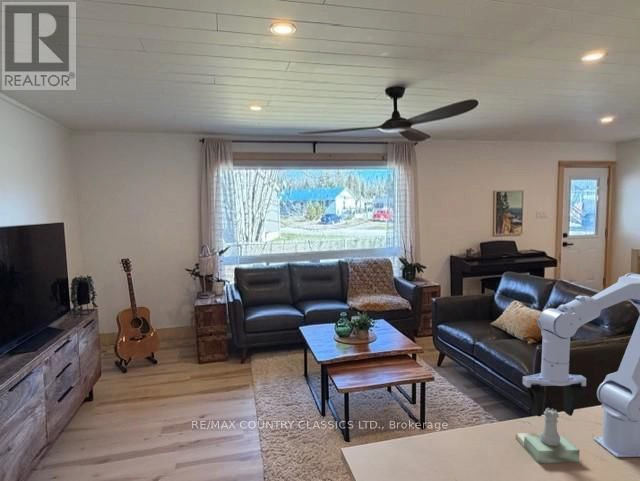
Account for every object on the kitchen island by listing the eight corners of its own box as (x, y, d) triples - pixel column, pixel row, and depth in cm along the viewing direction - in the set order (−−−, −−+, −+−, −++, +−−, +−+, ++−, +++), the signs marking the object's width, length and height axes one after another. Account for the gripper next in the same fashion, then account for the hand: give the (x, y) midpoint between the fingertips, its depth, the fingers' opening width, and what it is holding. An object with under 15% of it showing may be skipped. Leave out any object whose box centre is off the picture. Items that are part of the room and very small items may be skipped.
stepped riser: (552, 437, 106) (553, 426, 105) (578, 461, 96) (579, 449, 95) (515, 438, 105) (516, 427, 105) (537, 463, 95) (538, 450, 95)
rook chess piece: (563, 448, 96) (565, 415, 96) (543, 446, 97) (545, 414, 96) (556, 437, 101) (557, 406, 100) (536, 435, 101) (538, 405, 101)
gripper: (573, 353, 101) (570, 405, 102) (516, 354, 100) (514, 406, 101) (593, 363, 94) (590, 419, 95) (532, 365, 93) (530, 421, 94)
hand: (552, 414), depth 98 cm, fingers open, 7 cm apart
